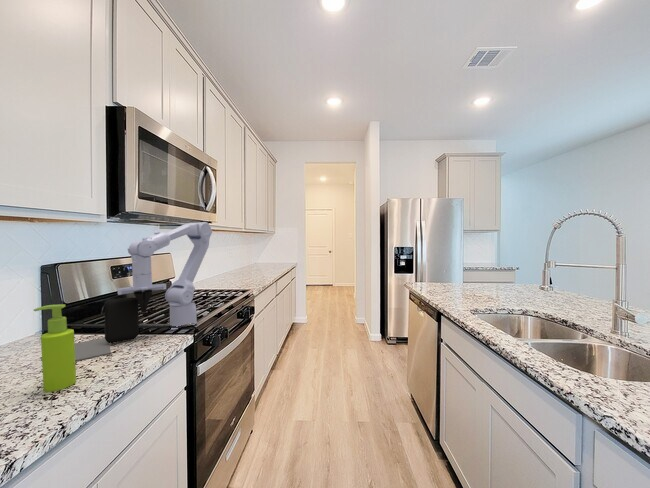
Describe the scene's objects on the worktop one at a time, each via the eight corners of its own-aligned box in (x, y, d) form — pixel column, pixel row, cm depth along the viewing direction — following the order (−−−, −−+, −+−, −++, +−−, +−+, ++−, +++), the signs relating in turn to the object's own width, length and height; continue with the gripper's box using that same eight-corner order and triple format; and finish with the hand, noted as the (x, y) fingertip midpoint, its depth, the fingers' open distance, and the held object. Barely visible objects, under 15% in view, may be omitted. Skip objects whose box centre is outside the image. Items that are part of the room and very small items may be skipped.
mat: (108, 337, 102) (108, 336, 102) (110, 353, 88) (110, 352, 88) (55, 348, 93) (55, 347, 93) (48, 367, 79) (48, 366, 79)
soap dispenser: (45, 383, 71) (41, 304, 70) (80, 377, 73) (76, 301, 73) (32, 395, 65) (27, 310, 65) (70, 388, 68) (66, 306, 67)
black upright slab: (101, 345, 92) (101, 300, 94) (100, 345, 94) (100, 300, 96) (139, 338, 100) (139, 296, 101) (137, 337, 102) (137, 296, 103)
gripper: (117, 277, 93) (119, 318, 93) (167, 273, 102) (168, 310, 102) (116, 275, 98) (118, 313, 99) (163, 271, 107) (164, 306, 108)
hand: (143, 311), depth 101 cm, fingers closed
